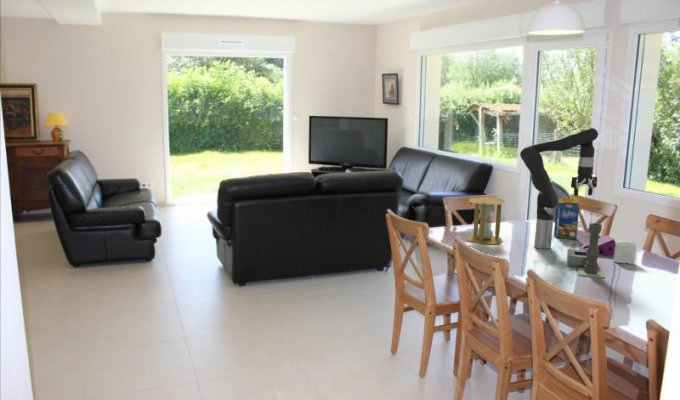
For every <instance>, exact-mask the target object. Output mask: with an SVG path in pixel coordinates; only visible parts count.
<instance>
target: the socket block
mask: <svg viewBox="0 0 680 400" xmlns="http://www.w3.org/2000/svg"><path fill="white" fill-rule="evenodd" d="M586 252H587V251H582V250H580V249H571V248H568V249H567V253H566V254H567V255H566V264H567V265H566V266H567V267H568V268H569V267H570V268H577V269H578V268H585V265H586V261H587V260H588V259H587V256H586ZM596 262H597V263H598V259H597V260H596Z"/></svg>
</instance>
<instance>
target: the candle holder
mask: <svg viewBox="0 0 680 400" xmlns="http://www.w3.org/2000/svg"><path fill="white" fill-rule="evenodd" d="M588 226H589V227H588V231H589V235H588V238H589V242H590V244H589V247H588V249H587V252H586V256H587V259H588V260H587V261H586V265H585V269H584V272H585V273H588V274H597V272H598V270H599V266H598V265H599V263H598V259H599V257H600V251H599V249H598V239H599V238H601V236H600V234H601V232H602V227H603V224H601V223H599V222H598V223H596V222H590V223H589V225H588ZM596 260H597V262H596Z"/></svg>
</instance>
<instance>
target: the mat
mask: <svg viewBox="0 0 680 400" xmlns="http://www.w3.org/2000/svg"><path fill="white" fill-rule="evenodd" d="M584 269H585V268H577V272H578V276H580V277H589V278H595V279H596V278H597V279H605V278H606V277H605V276H606V275H605V273H604V270H603V269H602V270H601V269H598V272H597V274H588V273H585V272H584Z"/></svg>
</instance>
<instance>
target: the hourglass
mask: <svg viewBox="0 0 680 400" xmlns="http://www.w3.org/2000/svg"><path fill="white" fill-rule="evenodd" d="M468 200H469V203H472V204H474V215H473V216H474V218H473V234H472V235H469V236H466V239H467V241H468V242H471V243H475V244H482V245H485V244H486V245H498V244H500V243H503V239H502V237H500V231H501V219H502V205H503V204H506V201H505V200H504V199H501V198H493V197H479V196H478V197H477V196H475V197H473V198H469V199H468ZM495 205H496V214H495V228H494V229H495V230H494V235H493V232H492V229H491V228H490V226H489V223H488V222H487V219H488V217H489V216H490V215H491V213H492V212H493V210H494V209H495Z"/></svg>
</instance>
